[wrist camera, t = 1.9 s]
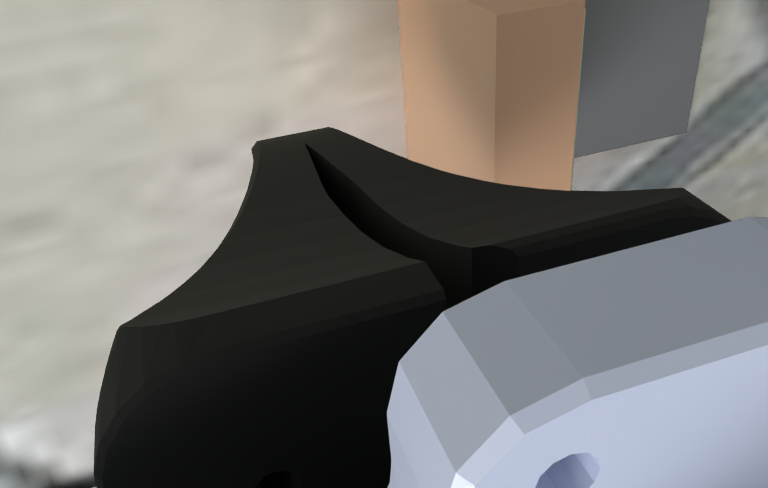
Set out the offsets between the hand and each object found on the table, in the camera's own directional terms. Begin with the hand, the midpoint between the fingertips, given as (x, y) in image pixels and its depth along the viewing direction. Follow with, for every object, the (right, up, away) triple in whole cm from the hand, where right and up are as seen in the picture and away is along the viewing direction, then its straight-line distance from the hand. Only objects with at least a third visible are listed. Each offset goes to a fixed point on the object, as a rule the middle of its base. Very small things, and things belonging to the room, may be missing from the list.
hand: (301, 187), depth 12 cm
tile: (+3, +3, +5) cm, 6 cm away
